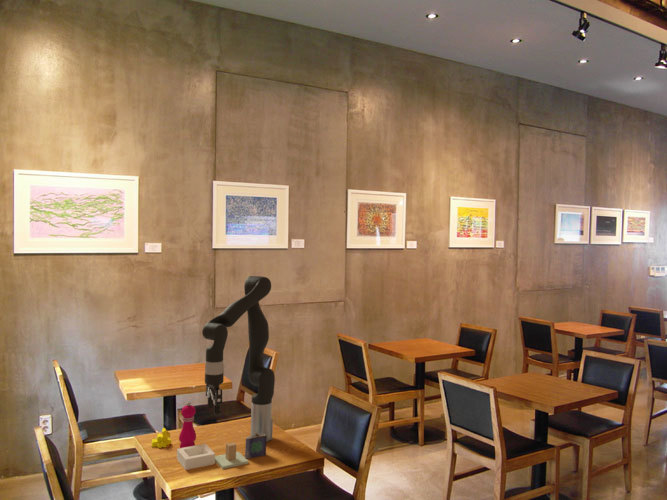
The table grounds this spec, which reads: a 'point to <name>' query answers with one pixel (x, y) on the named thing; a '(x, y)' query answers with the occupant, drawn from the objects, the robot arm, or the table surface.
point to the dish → (195, 456)
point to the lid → (230, 457)
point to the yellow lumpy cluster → (162, 439)
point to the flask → (255, 445)
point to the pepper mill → (187, 426)
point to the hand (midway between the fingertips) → (213, 410)
